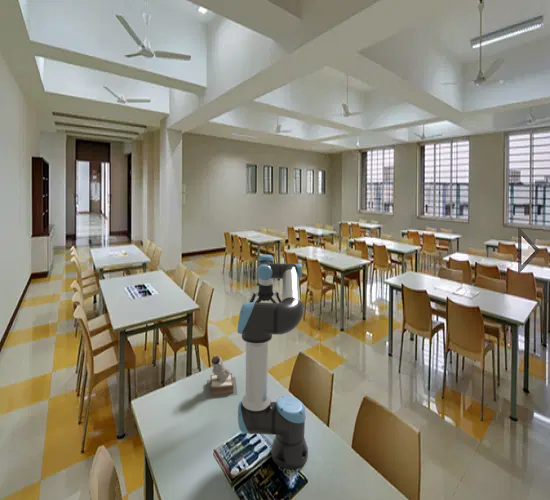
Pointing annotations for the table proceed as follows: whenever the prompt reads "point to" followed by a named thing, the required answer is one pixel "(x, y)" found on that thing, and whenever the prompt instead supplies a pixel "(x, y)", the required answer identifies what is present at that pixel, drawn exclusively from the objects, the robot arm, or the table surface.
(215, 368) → the figurine
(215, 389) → the plinth
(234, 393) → the mat
